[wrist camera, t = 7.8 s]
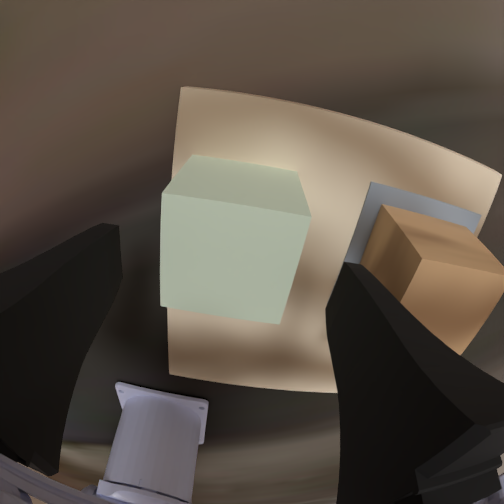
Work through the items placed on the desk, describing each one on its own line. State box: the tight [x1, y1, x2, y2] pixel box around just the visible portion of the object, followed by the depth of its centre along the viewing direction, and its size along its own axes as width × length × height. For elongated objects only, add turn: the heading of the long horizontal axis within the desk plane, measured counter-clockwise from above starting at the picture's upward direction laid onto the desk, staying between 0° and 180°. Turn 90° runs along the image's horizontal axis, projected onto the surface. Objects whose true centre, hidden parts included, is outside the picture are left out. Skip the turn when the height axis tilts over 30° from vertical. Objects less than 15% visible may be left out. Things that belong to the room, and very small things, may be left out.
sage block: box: [160, 155, 312, 324], centre depth 12 cm, size 4×4×4 cm
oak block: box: [359, 204, 504, 355], centre depth 13 cm, size 5×5×4 cm
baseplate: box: [167, 86, 502, 393], centre depth 17 cm, size 18×16×1 cm
